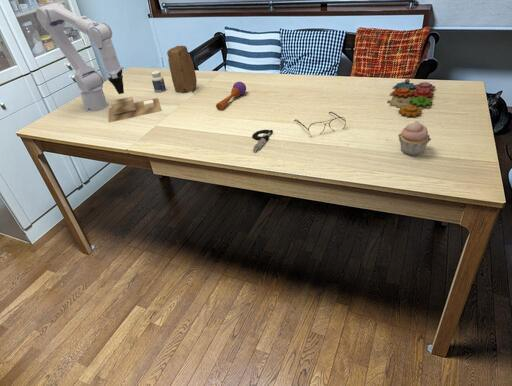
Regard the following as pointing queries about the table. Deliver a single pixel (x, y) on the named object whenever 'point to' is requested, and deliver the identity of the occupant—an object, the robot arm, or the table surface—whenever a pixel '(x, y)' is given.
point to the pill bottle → (158, 82)
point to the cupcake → (414, 138)
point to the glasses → (324, 121)
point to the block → (181, 69)
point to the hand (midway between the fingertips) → (121, 90)
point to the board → (139, 111)
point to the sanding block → (123, 106)
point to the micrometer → (261, 138)
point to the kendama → (232, 94)
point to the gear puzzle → (412, 97)
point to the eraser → (149, 104)
